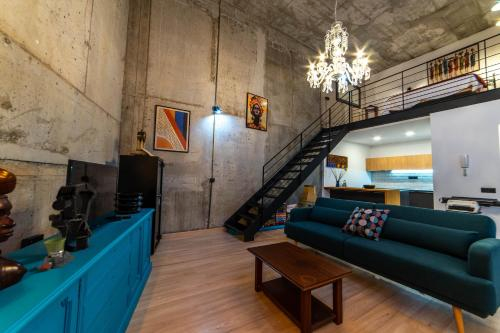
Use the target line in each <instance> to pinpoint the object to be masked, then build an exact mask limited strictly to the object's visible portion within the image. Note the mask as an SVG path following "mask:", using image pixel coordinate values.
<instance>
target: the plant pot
mask: <svg viewBox="0 0 500 333" xmlns="http://www.w3.org/2000/svg"><path fill="white" fill-rule="evenodd" d="M66 239H67V237H66V238H63V237H57V238H51V239H48V240H46V241H44V242H43V245H45V247H46V251H47V256H49V255H50V252H52V251H55V250H59V249H65V243H66Z"/></svg>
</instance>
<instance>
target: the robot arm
mask: <svg viewBox="0 0 500 333" xmlns="http://www.w3.org/2000/svg"><path fill="white" fill-rule="evenodd" d="M97 194H98V192H97V190H96V188H95V187H93V186H92V185H91V184H90V183H89V182H82V183H81V182H80V183H78V184H75V185H74V184H71V185H62V186H60V187H59V189H58V191H57V193H56V196H55V200H54V201H53V202H52V204H51V208H52V209H53V210H54V211H57V212H58V211H59V213H58V214H55V213H52V214H49V215H48V221H49V222H51V223H50V227H51V228H53V229H57V230H58V231H59V233H60V234H61V237H62V238H66V239H67V235H68V232H69V229H70V222H71V223H72V228H71V231H70V238H71V240H72V241H75V248H76V249H75V248H74V249H73V251H78V250H86V249H87V248H89V247H91V246H92V244H89V238H92V236H93V234H92V233H93V232H92V231H91V229H90V225H89V224H88V220H89V215H90V209H91V204H92V202H93V201H95V199H96V197H97ZM77 195H79V198H80V200H81V206H80V209H79V208H78V207H77ZM79 210H80V211H79ZM77 211H79V213H78V214H77Z"/></svg>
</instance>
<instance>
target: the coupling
mask: <svg viewBox="0 0 500 333" xmlns="http://www.w3.org/2000/svg"><path fill="white" fill-rule="evenodd" d="M64 249H65V248H64ZM64 249H59V250H55V251H52V252H50V255H51V258H55V257H58V256H62V255H63V252H65V250H64Z"/></svg>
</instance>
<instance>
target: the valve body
mask: <svg viewBox="0 0 500 333" xmlns="http://www.w3.org/2000/svg"><path fill="white" fill-rule="evenodd" d="M43 259H44V262H43V263H42V264H40V265H39V266H37V271H39V270H41V271H42V272H46V271H50V270H51V269H53V268H54V269H56V268H61V267H63V266H64V265H66V264H68V263H70V262H72V261H73V260H74V259H75V255H71V252H70V251H64V252H63V255H62V256H58V257H55V258H51V255H49V256H48V255H47V256H45V257H44V258H43Z"/></svg>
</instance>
